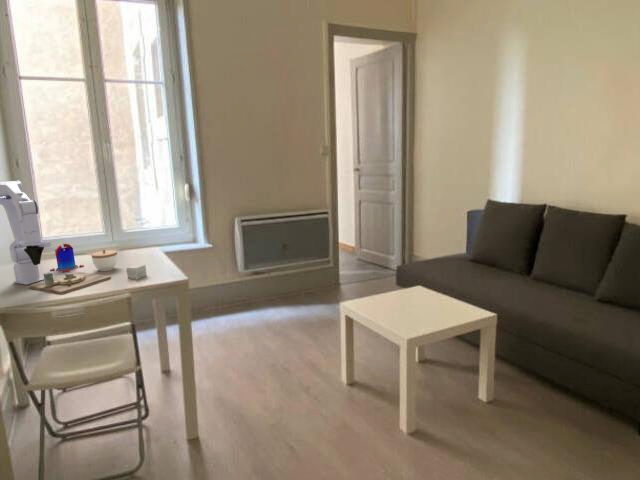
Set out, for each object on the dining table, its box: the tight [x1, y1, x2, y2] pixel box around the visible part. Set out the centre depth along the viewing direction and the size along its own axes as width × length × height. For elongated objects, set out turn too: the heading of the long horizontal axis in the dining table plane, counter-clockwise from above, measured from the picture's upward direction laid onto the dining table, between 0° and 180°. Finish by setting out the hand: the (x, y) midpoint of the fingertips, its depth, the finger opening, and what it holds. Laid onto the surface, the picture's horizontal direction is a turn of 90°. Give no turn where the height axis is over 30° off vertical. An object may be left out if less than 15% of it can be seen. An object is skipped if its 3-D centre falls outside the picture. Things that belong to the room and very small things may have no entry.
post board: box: [27, 271, 112, 295], centre depth 191 cm, size 22×22×4 cm
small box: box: [125, 264, 148, 280], centre depth 196 cm, size 6×6×5 cm
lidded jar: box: [90, 249, 118, 272], centre depth 211 cm, size 11×11×9 cm
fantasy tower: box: [49, 243, 85, 274], centre depth 215 cm, size 12×12×12 cm
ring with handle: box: [43, 271, 86, 287], centre depth 189 cm, size 15×11×5 cm
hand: (36, 264), depth 184 cm, fingers closed
